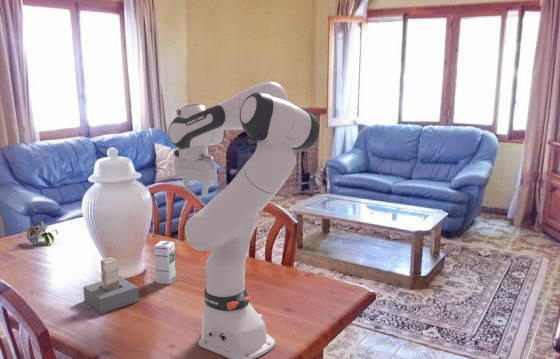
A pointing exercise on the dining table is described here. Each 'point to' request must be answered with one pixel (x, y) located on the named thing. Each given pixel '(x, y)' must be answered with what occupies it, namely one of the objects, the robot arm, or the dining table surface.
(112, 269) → the cream peg
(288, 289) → the dining table surface
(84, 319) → the dining table surface
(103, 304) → the socket block
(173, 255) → the syrup box
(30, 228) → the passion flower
